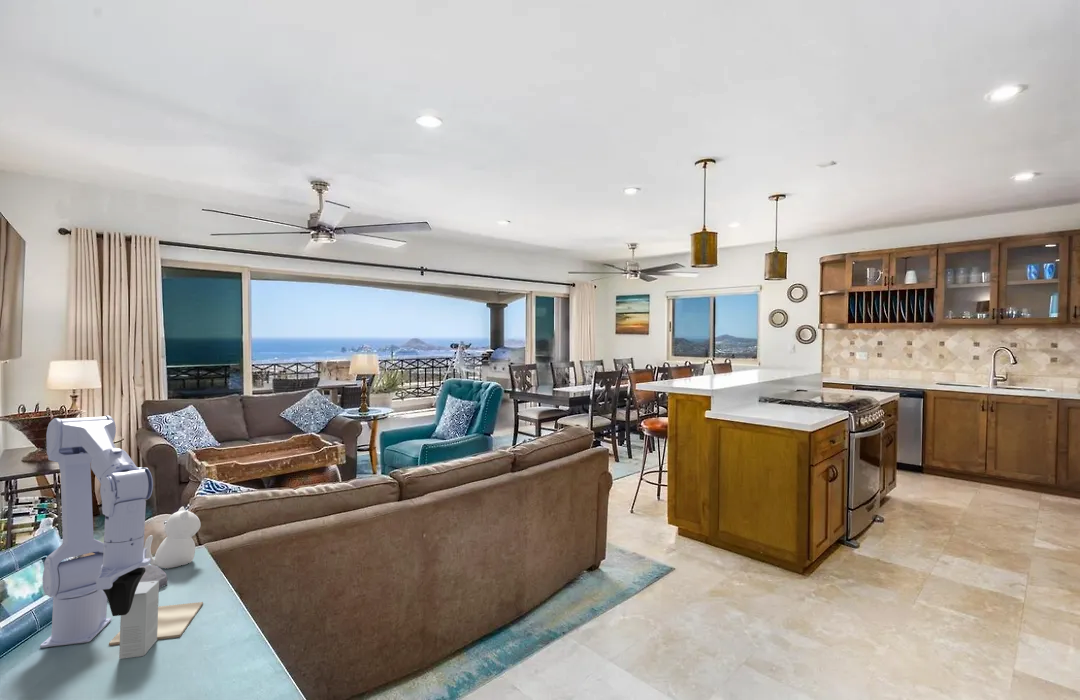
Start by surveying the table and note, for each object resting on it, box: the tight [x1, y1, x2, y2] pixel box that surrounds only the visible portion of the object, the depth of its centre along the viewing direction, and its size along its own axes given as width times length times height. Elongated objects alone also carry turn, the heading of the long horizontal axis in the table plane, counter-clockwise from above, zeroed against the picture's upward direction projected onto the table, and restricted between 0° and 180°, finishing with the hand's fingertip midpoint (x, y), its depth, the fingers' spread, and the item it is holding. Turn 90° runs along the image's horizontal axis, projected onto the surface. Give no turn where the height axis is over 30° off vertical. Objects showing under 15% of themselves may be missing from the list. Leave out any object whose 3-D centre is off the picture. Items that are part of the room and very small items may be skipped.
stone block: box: [139, 564, 169, 589], centre depth 126 cm, size 12×5×10 cm
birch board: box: [108, 601, 204, 646], centre depth 111 cm, size 15×12×1 cm
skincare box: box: [118, 581, 160, 660], centre depth 101 cm, size 6×4×12 cm
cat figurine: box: [144, 506, 201, 569], centre depth 142 cm, size 9×12×15 cm
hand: (120, 613), depth 93 cm, fingers closed
